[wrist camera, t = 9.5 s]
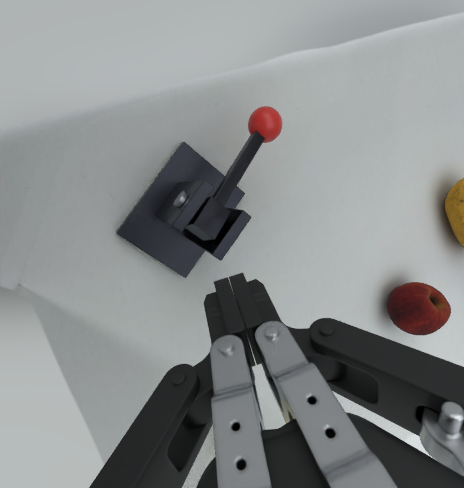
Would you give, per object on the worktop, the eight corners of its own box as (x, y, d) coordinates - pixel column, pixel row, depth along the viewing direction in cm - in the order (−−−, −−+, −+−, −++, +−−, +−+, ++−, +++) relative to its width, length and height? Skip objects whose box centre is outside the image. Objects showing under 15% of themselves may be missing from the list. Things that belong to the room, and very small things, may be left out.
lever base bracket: (181, 142, 34) (213, 121, 23) (241, 193, 38) (293, 195, 27) (116, 232, 33) (117, 252, 22) (183, 275, 37) (213, 311, 26)
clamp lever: (251, 107, 31) (270, 92, 28) (274, 130, 32) (294, 118, 29) (177, 223, 27) (190, 219, 24) (205, 244, 28) (221, 243, 25)
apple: (418, 280, 51) (469, 296, 44) (404, 325, 52) (452, 348, 44) (386, 272, 48) (435, 287, 41) (371, 320, 49) (417, 343, 41)
